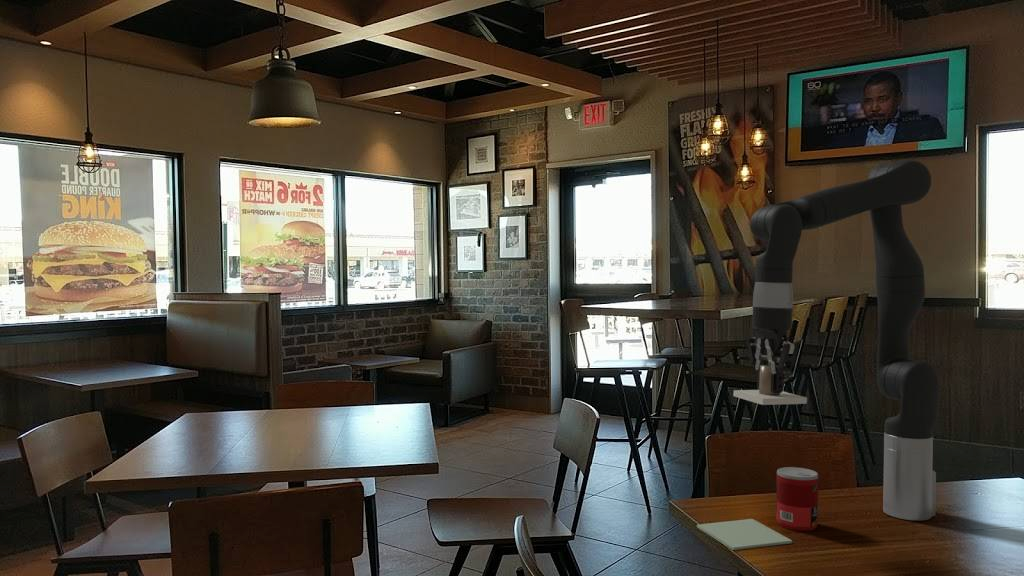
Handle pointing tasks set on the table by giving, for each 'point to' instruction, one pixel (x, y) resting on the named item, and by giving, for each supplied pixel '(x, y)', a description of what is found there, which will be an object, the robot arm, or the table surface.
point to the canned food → (797, 498)
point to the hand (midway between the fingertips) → (769, 390)
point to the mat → (743, 534)
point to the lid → (768, 392)
